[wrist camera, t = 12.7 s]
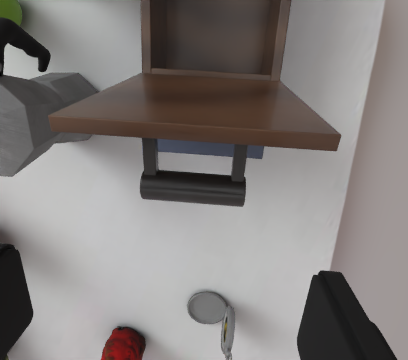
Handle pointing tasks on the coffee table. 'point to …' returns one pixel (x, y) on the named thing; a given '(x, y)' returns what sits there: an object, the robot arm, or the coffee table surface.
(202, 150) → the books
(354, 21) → the coffee table surface
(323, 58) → the coffee table surface
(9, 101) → the coffeepot
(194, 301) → the pocket watch
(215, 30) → the chest
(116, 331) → the red clay folk toy
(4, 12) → the snail figurine
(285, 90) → the lid
